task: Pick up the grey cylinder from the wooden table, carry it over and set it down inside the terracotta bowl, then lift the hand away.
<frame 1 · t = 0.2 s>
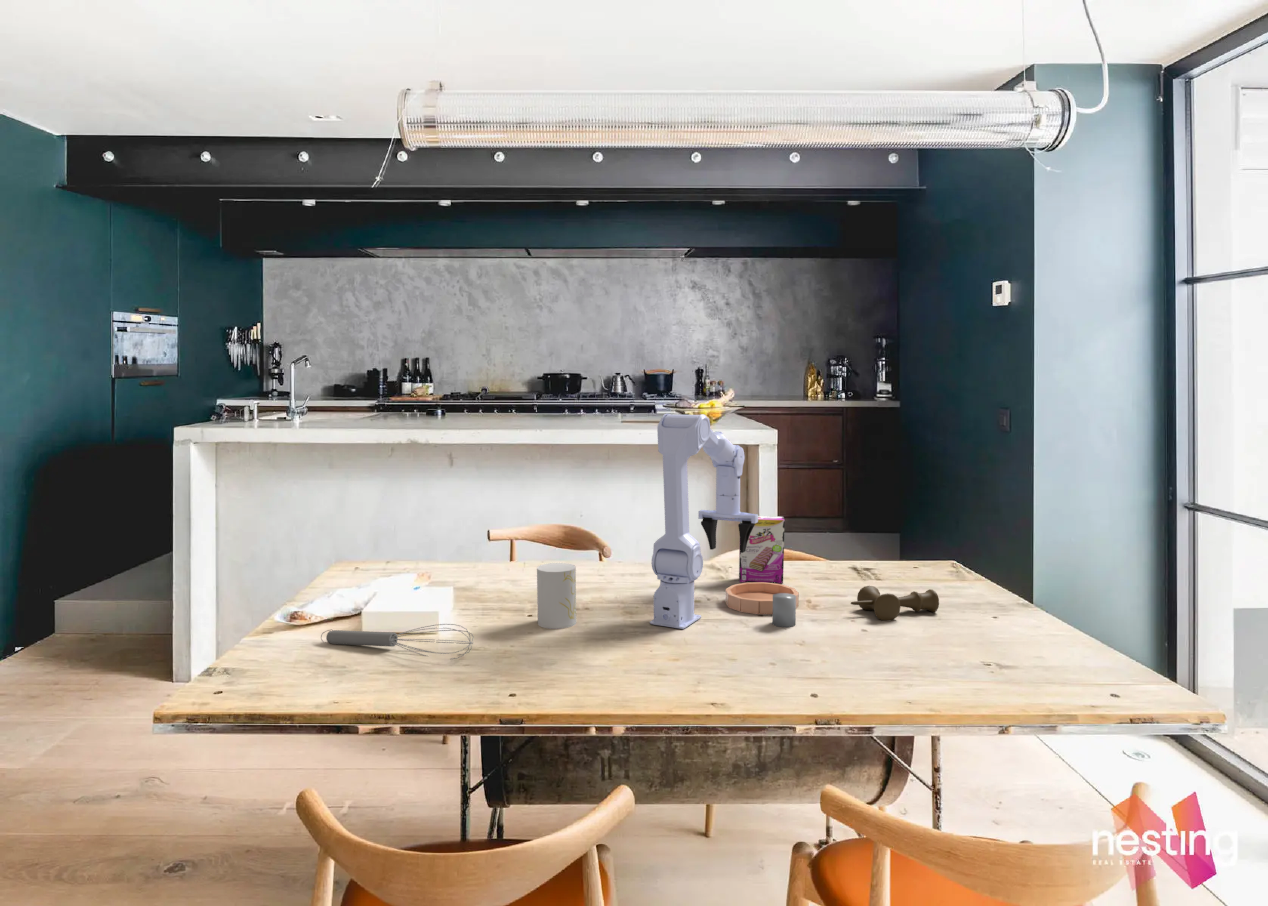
hand: (727, 550, 199), 10 cm above the table, tool pointing down, fingers open, 7 cm apart
kitchen whisk: (395, 653, 158), on the table
grey cylinder: (783, 623, 174), on the table
white cylinder: (557, 623, 176), on the table
candy bar box: (761, 581, 210), on the table
bowl: (761, 604, 189), on the table
kendama: (892, 615, 182), on the table
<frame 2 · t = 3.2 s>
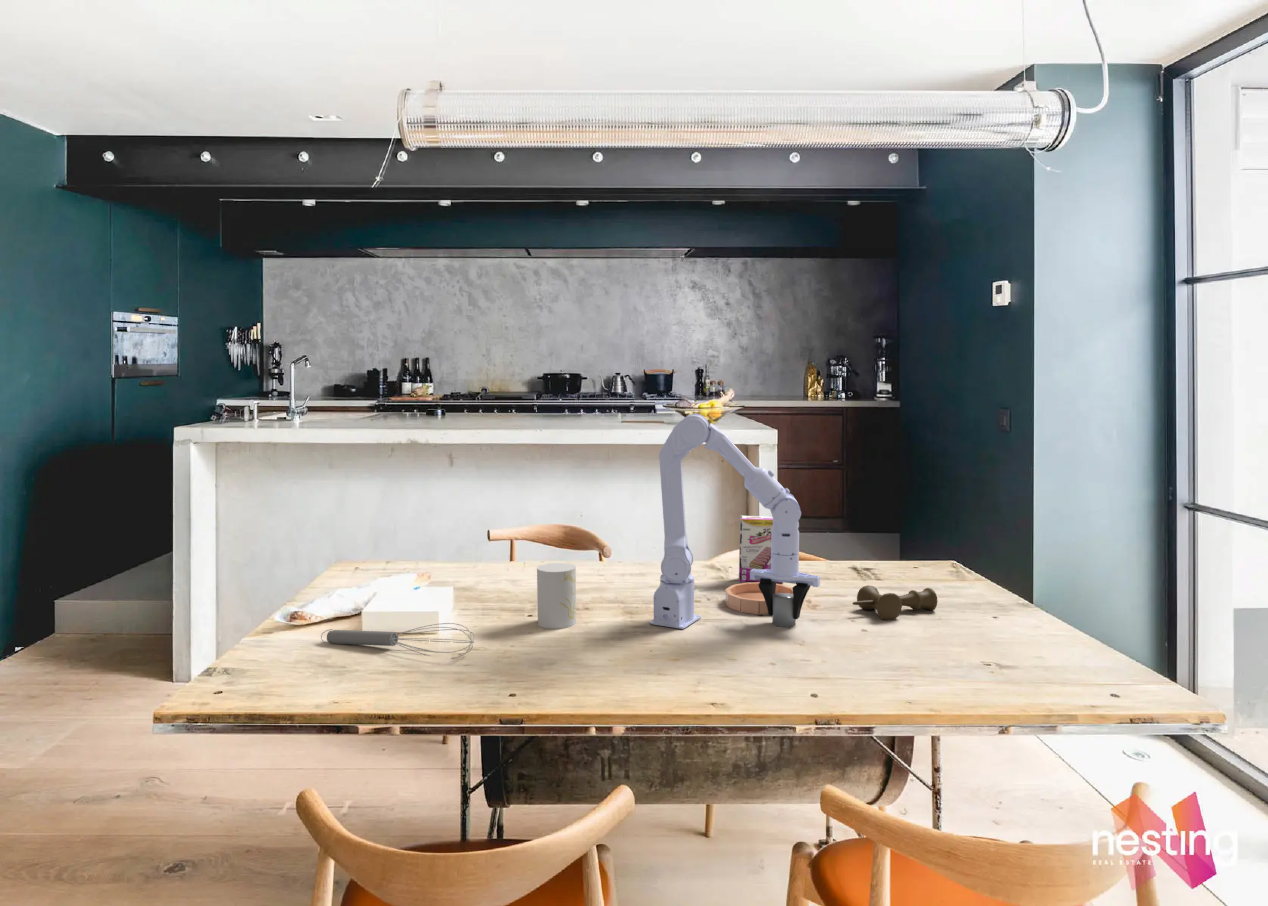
hand: (784, 616, 174), 2 cm above the table, tool pointing down, fingers closed on grey cylinder, 5 cm apart
grey cylinder: (783, 623, 174), on the table, touching gripper
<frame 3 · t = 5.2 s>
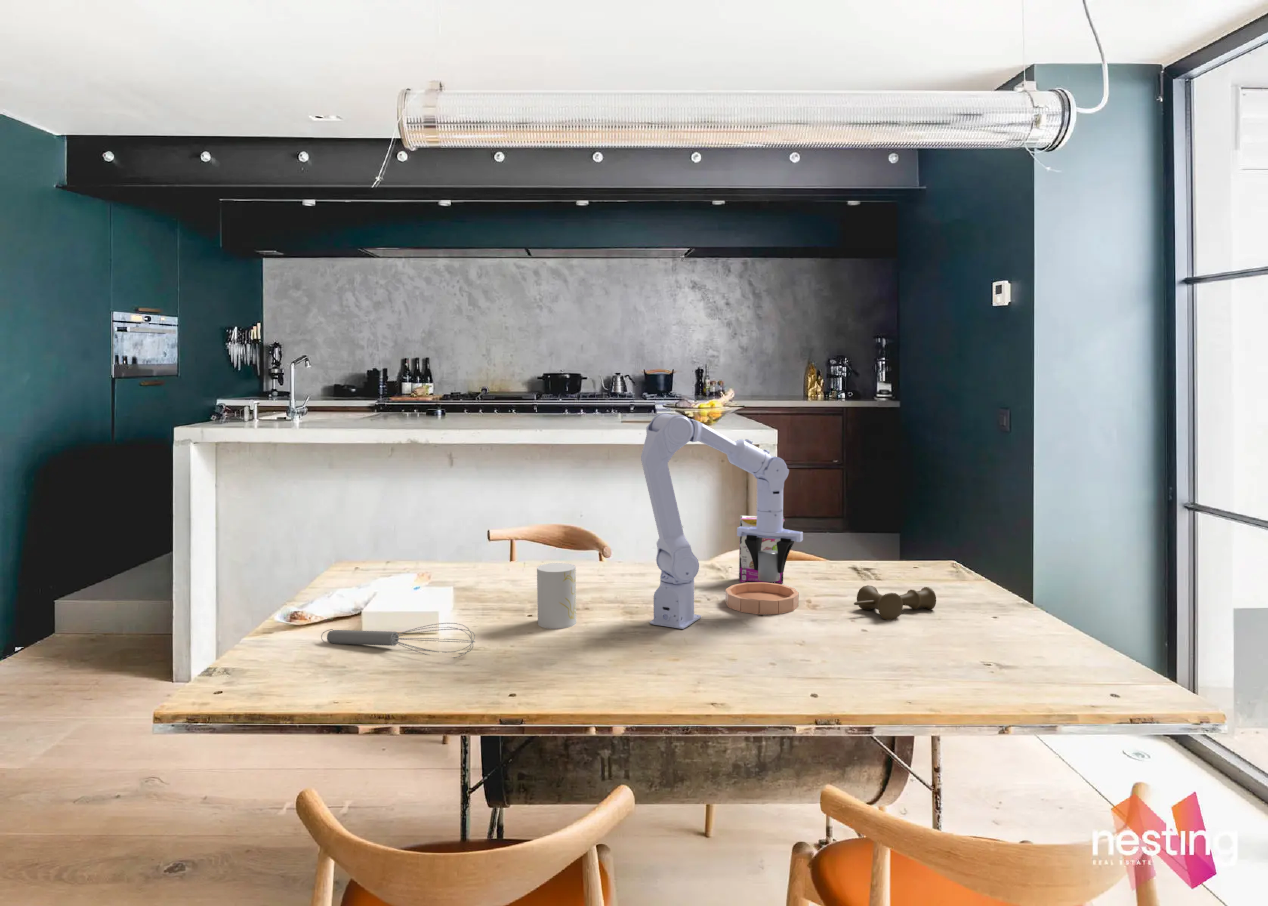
hand: (769, 570, 183), 9 cm above the table, tool pointing down, fingers closed on grey cylinder, 5 cm apart
grey cylinder: (768, 578, 183), point 7 cm above the table, touching gripper
when the fingers open (4 cm above the table, at t = 7.3 s): grey cylinder drops 1 cm, resting on bowl.
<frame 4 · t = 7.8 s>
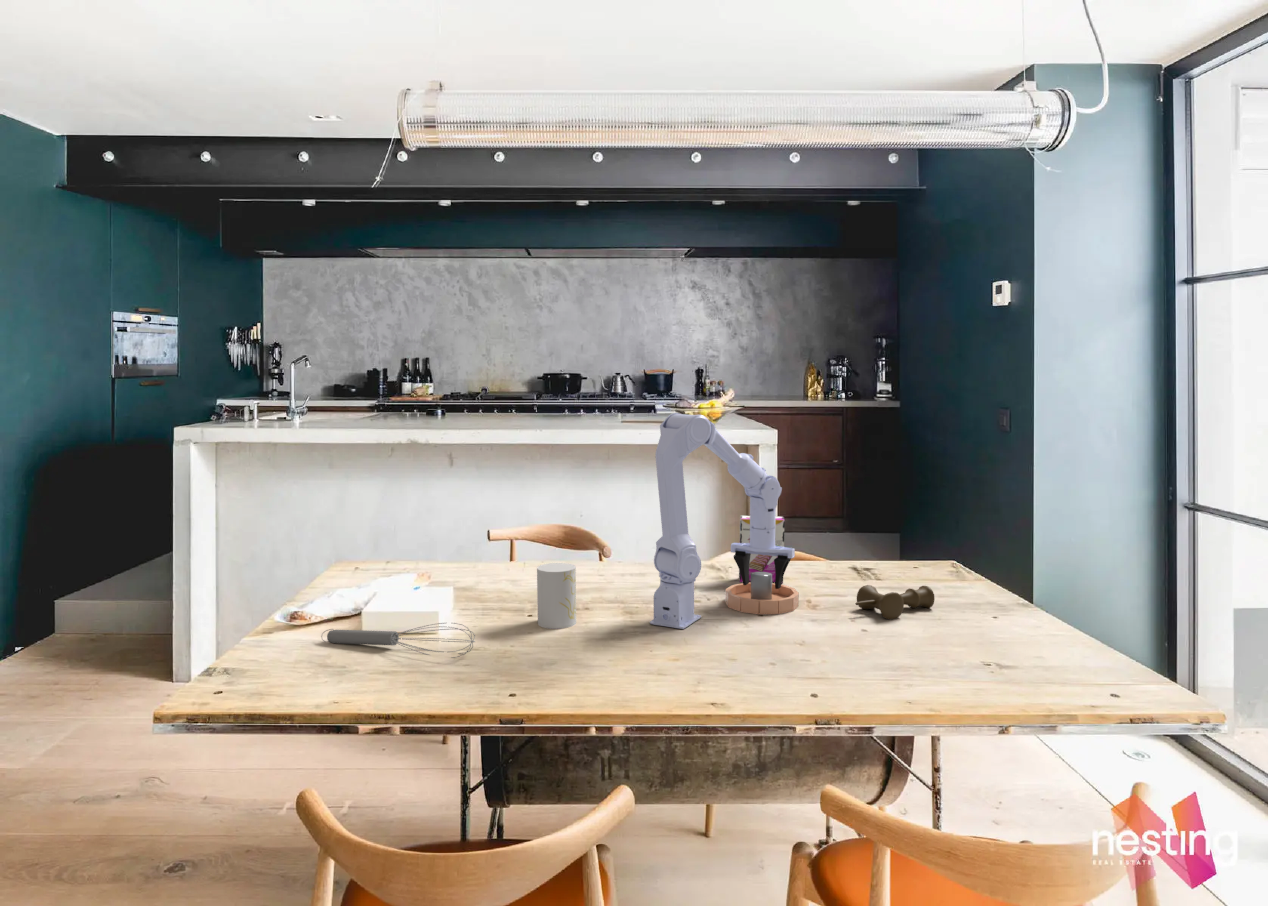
hand: (761, 586, 189), 4 cm above the table, tool pointing down, fingers open, 7 cm apart
grey cylinder: (761, 600, 189), point 1 cm above the table, touching bowl
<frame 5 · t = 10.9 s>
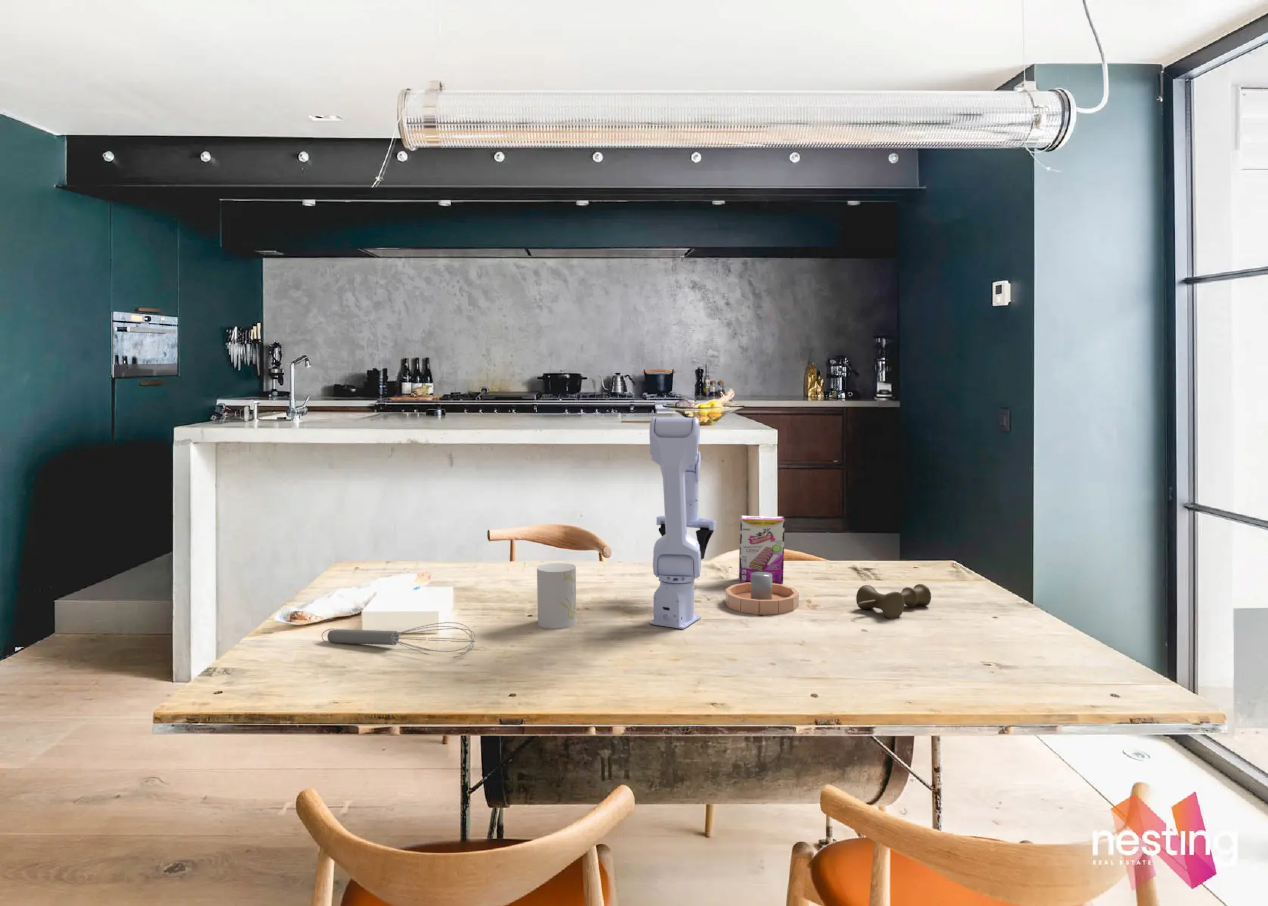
hand: (686, 557, 195), 9 cm above the table, tool pointing down, fingers open, 7 cm apart
at the end: grey cylinder inside the target area on the bowl (0.2 cm from its centre), point 1.0 cm above the bowl's base; the gripper is holding nothing; grey cylinder tilted 0° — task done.
